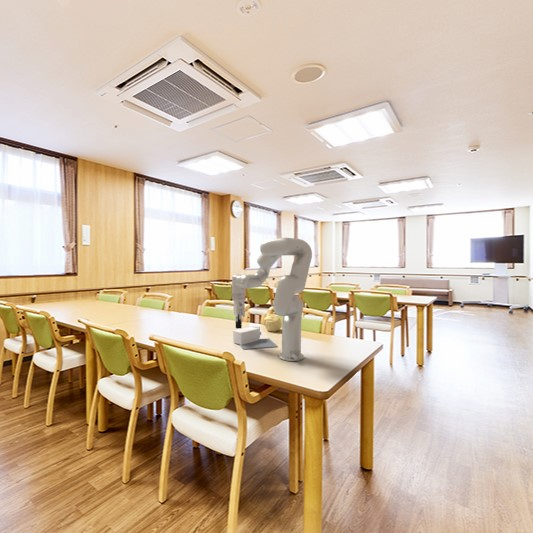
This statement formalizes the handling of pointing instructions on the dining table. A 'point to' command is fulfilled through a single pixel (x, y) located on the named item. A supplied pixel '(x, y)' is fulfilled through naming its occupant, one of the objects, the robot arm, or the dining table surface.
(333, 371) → the dining table surface
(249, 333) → the milk carton
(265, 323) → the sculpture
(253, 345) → the back mat
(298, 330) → the robot arm
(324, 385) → the dining table surface
